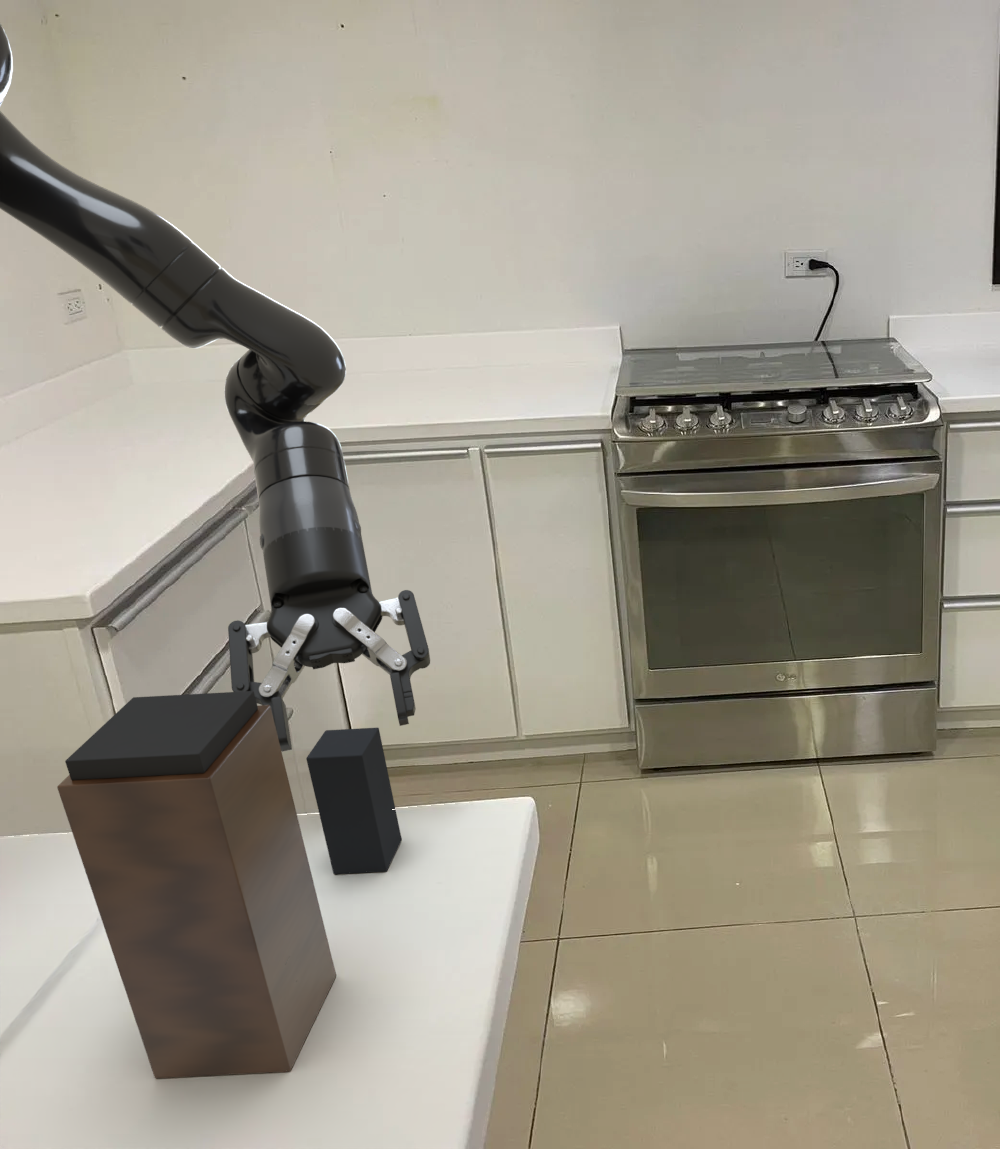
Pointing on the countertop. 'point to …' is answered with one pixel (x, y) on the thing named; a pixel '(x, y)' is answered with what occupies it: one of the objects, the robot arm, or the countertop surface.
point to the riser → (208, 907)
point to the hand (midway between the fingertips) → (345, 735)
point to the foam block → (354, 800)
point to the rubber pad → (163, 736)
